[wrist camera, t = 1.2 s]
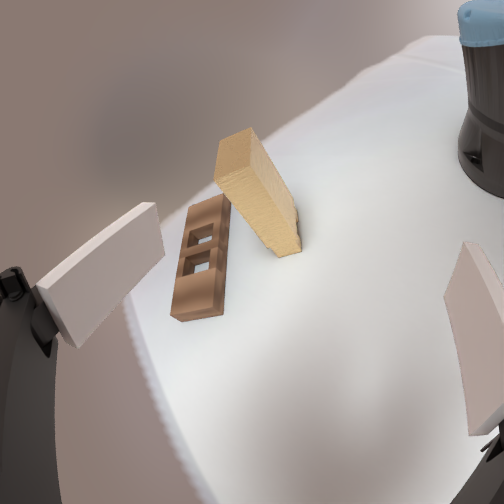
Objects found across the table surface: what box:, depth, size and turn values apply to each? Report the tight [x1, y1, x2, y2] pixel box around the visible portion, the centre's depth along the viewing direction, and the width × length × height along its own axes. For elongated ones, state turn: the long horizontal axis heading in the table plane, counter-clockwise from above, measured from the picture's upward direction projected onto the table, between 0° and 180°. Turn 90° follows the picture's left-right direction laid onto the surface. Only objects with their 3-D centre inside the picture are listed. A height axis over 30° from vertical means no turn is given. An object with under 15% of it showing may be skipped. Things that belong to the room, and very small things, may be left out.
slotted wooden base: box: [170, 193, 231, 322], centre depth 45 cm, size 20×7×2 cm, turn 178°
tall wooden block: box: [214, 127, 302, 258], centre depth 35 cm, size 7×4×15 cm, turn 178°
